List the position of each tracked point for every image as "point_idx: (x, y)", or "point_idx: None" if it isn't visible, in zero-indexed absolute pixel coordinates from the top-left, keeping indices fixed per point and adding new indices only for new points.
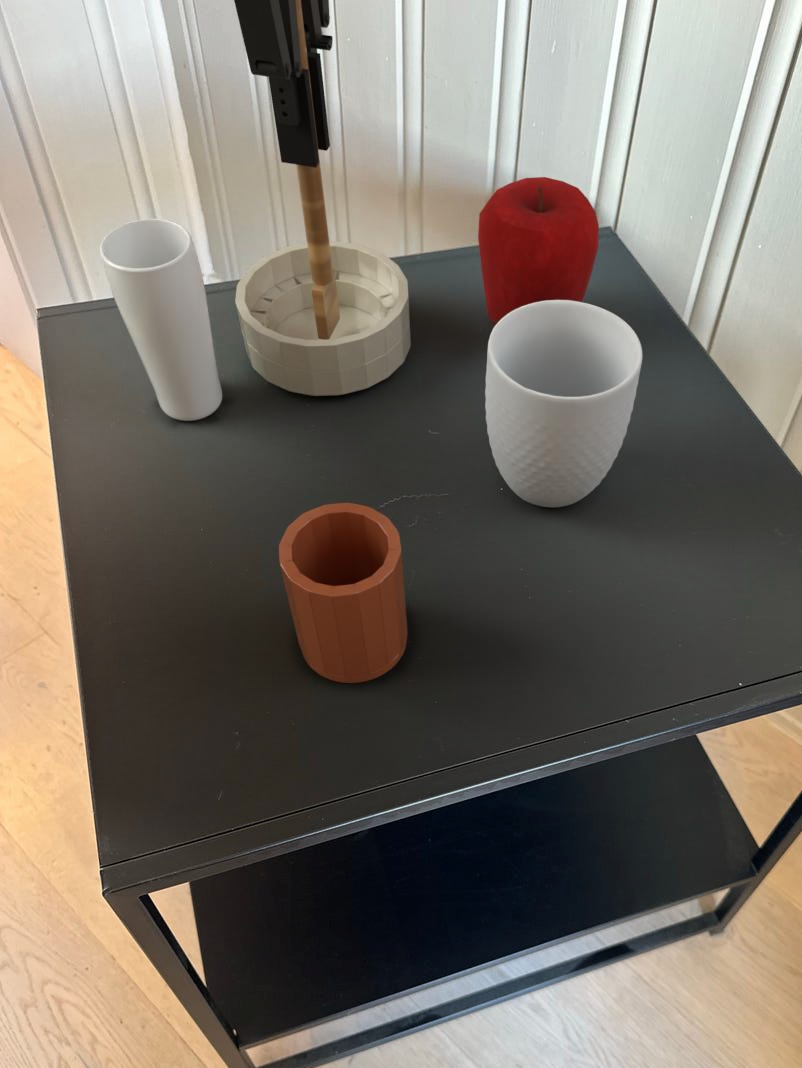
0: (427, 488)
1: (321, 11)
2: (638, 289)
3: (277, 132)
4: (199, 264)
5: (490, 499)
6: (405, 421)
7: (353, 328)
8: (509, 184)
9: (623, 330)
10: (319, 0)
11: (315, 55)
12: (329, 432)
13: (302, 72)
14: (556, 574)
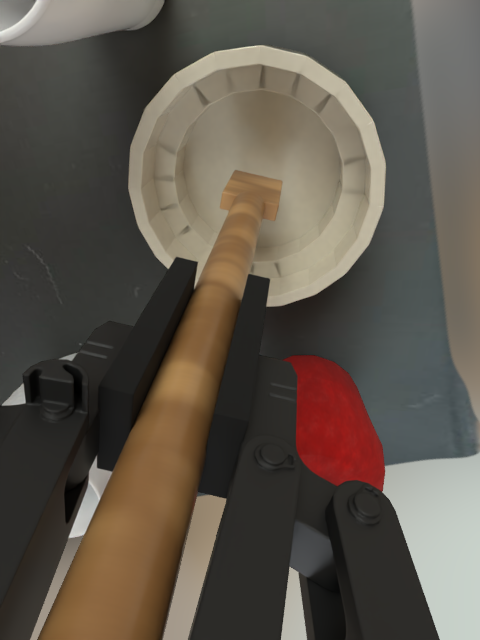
0: (63, 287)
1: (304, 594)
2: None
3: (158, 288)
4: (45, 41)
5: (66, 335)
6: (146, 265)
7: (287, 204)
8: (356, 473)
9: (78, 529)
10: (308, 629)
11: (211, 490)
12: (113, 186)
13: (107, 463)
14: (7, 373)
